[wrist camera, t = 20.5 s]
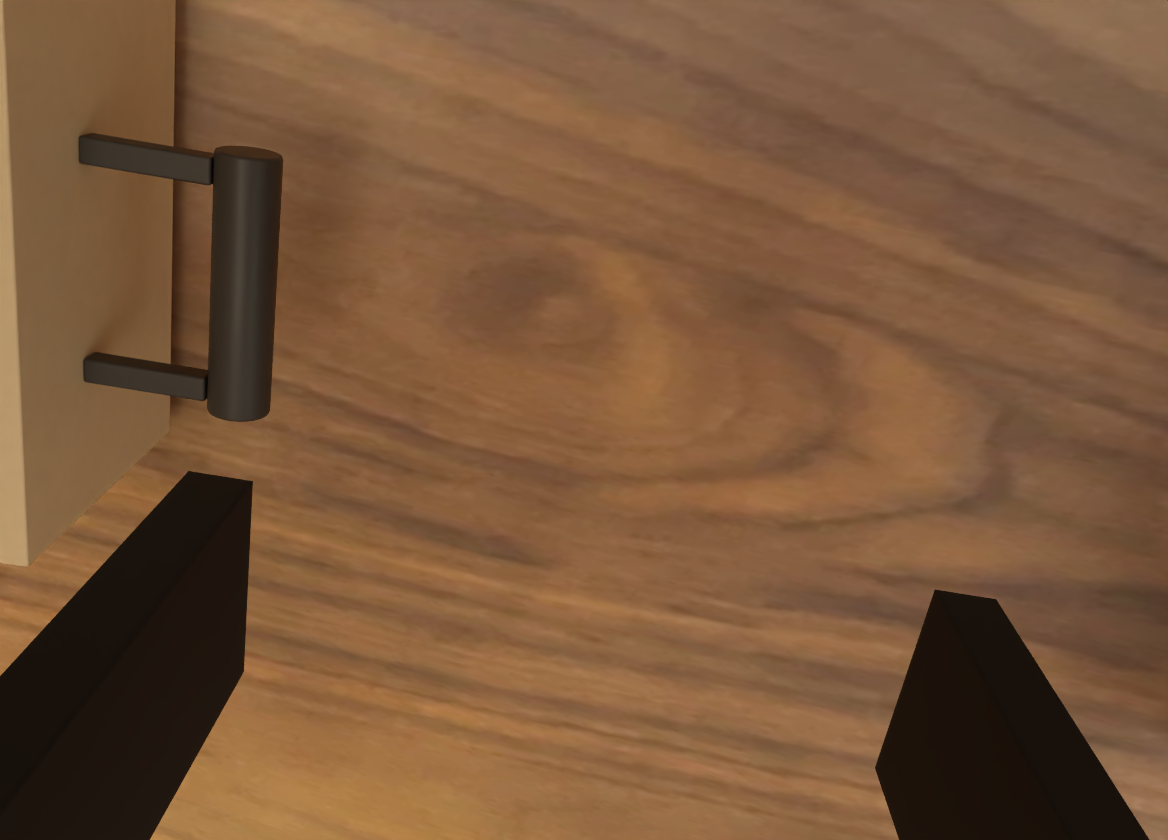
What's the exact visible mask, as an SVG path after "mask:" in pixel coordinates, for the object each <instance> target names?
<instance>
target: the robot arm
mask: <svg viewBox="0 0 1168 840" xmlns="http://www.w3.org/2000/svg"><path fill="white" fill-rule="evenodd" d="M252 486H253V481H247V480H241V479H235V478H228V477H222V476H216V475H210V474H203V473H197V472H191V471H188V472H187V473H186V475H185V476H184V477H183V478H182V479H181V480H180V481H179V482H178V483H177V484H176V485H175V487H174V488H173V489H172V490H171V491H170V492H169V493H168V494H167V495H166V496H165V497H164V499H163V500H162V501H161V502H160V503H159V504H158V505H157V506H156V507H155V508H154V509H153V511H152V512H151V513H150V514H149V515H148V516H147V517H146V518H145V519H144V520H143V521H142V522H141V524H140V525H139V526H138V527H137V528H136V529H135V530H134V531H133V532H132V533H131V534H130V536H129V537H128V538H127V539H126V540H125V541H124V542H123V543H122V544H121V545H120V546H119V548H118V549H117V550H116V551H115V552H114V553H113V554H112V555H111V556H110V557H109V558H108V559H107V561H106V562H105V563H104V564H103V565H102V566H101V567H100V568H99V569H98V570H97V571H96V573H95V574H94V575H93V576H92V577H91V578H90V579H89V580H88V581H87V582H86V583H85V585H84V586H83V587H82V588H81V589H80V590H79V591H78V592H77V593H76V594H75V595H74V596H73V598H72V599H71V600H70V601H69V602H68V603H67V604H66V605H65V606H64V607H63V608H62V610H61V611H60V612H59V613H58V614H57V615H56V616H55V617H54V618H53V619H52V620H51V622H50V623H49V624H48V625H47V626H46V627H45V628H44V629H43V630H42V631H41V632H40V634H39V635H38V636H37V637H36V638H35V639H34V640H33V641H32V642H31V643H30V644H29V645H28V647H27V648H26V649H25V650H24V651H23V652H22V653H21V654H20V655H19V656H18V657H17V659H16V660H15V661H14V662H13V663H12V664H11V665H10V666H9V667H8V668H7V669H6V671H5V672H4V673H3V674H2V675H1V676H0V840H150V838H151V836H152V835H153V833H154V831H155V829H156V827H157V826H158V824H159V822H160V820H161V819H162V817H163V815H164V813H165V811H166V810H167V808H168V806H169V804H170V802H171V801H172V799H173V797H174V795H175V794H176V792H177V790H178V788H179V786H180V785H181V783H182V781H183V779H184V777H185V776H186V774H187V772H188V770H189V769H190V767H191V765H192V763H193V761H194V760H195V758H196V756H197V754H198V752H199V751H200V749H201V747H202V745H203V744H204V742H205V740H206V738H207V736H208V735H209V733H210V731H211V729H212V727H213V726H214V724H215V722H216V720H217V718H218V717H219V715H220V713H221V711H222V710H223V708H224V706H225V704H226V702H227V701H228V699H229V697H230V695H231V693H232V692H233V690H234V688H235V686H236V685H237V683H238V681H239V679H240V677H241V676H242V674H243V672H244V656H245V634H246V613H247V592H248V571H249V549H250V528H251V507H252ZM875 769H876V772H877V775H878V778H879V781H880V784H881V787H882V790H883V793H884V796H885V799H886V802H887V805H888V808H889V811H890V814H891V817H892V820H893V823H894V826H895V829H896V832H897V834H898V837H899V840H1149V839H1148V837H1147V835H1146V834H1145V832H1144V831H1143V829H1142V828H1141V826H1140V824H1139V823H1138V821H1137V820H1136V818H1135V817H1134V815H1133V813H1132V812H1131V810H1130V809H1129V807H1128V806H1127V804H1126V802H1125V801H1124V799H1123V798H1122V796H1121V795H1120V793H1119V791H1118V790H1117V788H1116V787H1115V785H1114V784H1113V782H1112V780H1111V779H1110V777H1109V776H1108V774H1107V773H1106V771H1105V769H1104V768H1103V766H1102V765H1101V763H1100V762H1099V760H1098V759H1097V757H1096V755H1095V754H1094V752H1093V751H1092V749H1091V748H1090V746H1089V744H1088V743H1087V741H1086V740H1085V738H1084V737H1083V735H1082V733H1081V732H1080V730H1079V729H1078V727H1077V726H1076V724H1075V722H1074V721H1073V719H1072V718H1071V716H1070V715H1069V713H1068V711H1067V710H1066V708H1065V707H1064V705H1063V704H1062V702H1061V700H1060V699H1059V697H1058V696H1057V694H1056V693H1055V691H1054V690H1053V688H1052V686H1051V685H1050V683H1049V682H1048V680H1047V679H1046V677H1045V675H1044V674H1043V672H1042V671H1041V669H1040V668H1039V666H1038V664H1037V663H1036V661H1035V660H1034V658H1033V657H1032V655H1031V653H1030V652H1029V650H1028V649H1027V647H1026V646H1025V644H1024V642H1023V641H1022V639H1021V638H1020V636H1019V635H1018V633H1017V631H1016V630H1015V628H1014V627H1013V625H1012V624H1011V622H1010V621H1009V619H1008V617H1007V616H1006V614H1005V613H1004V611H1003V610H1002V608H1001V606H1000V605H999V603H998V602H997V600H996V599H991V598H984V597H978V596H972V595H965V594H959V593H953V592H946V591H940V590H935V591H934V594H933V597H932V600H931V603H930V606H929V609H928V612H927V615H926V618H925V621H924V624H923V627H922V630H921V633H920V636H919V639H918V642H917V645H916V648H915V651H914V653H913V656H912V659H911V662H910V665H909V668H908V671H907V674H906V677H905V680H904V683H903V686H902V689H901V692H900V695H899V698H898V701H897V704H896V707H895V710H894V713H893V716H892V719H891V722H890V725H889V728H888V731H887V734H886V737H885V740H884V743H883V746H882V749H881V752H880V755H879V758H878V761H877V764H876V767H875Z"/></svg>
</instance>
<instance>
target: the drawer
mask: <svg viewBox="0 0 1168 840" xmlns="http://www.w3.org/2000/svg"><path fill="white" fill-rule="evenodd" d="M175 5H176V0H0V563H3V564H9V565H16V566H22V567H28V566H29V565H30V564H31V563H32V562H33V561H34V560H36V559H37V558H38V557H39V556H40V555H41V554H42V553H43V552H44V551H45V550H46V549H47V548H48V547H49V546H50V545H51V544H52V543H53V542H54V541H55V540H56V539H58V538H59V537H60V536H61V535H62V534H63V533H64V532H65V531H66V530H67V529H68V528H69V527H70V526H71V525H72V524H73V523H74V522H75V521H76V520H77V519H78V518H79V517H81V516H82V515H83V514H84V513H85V512H86V511H87V510H88V509H89V508H90V507H91V506H92V505H93V504H94V503H95V502H96V501H97V500H98V499H99V498H100V497H101V496H103V495H104V494H105V493H106V492H107V491H108V490H109V489H110V488H111V487H112V486H113V485H114V484H115V483H116V482H117V481H118V480H119V479H120V478H121V477H122V476H123V475H125V474H126V473H127V472H128V471H129V470H130V469H131V468H132V467H133V466H134V465H135V464H136V463H137V462H138V461H139V460H140V459H141V458H142V457H143V456H144V455H145V454H146V453H148V452H149V451H150V450H151V449H152V448H153V447H154V446H155V445H156V444H157V443H158V442H159V441H160V440H161V439H162V438H163V437H164V436H165V435H166V434H167V433H168V432H169V431H170V396H174V397H180V398H187V399H193V400H199V401H204V400H206V399H207V409H208V411H209V413H210V414H211V415H213V416H215V417H217V418H220V419H223V420H228V421H237V422H245V421H254V420H258V419H261V418H263V417H265V416H267V415H268V413H269V411H270V401H271V382H272V363H273V344H274V325H275V306H276V287H277V268H278V249H279V230H280V211H281V192H282V173H283V157H282V156H281V155H280V154H278V153H276V152H273V151H269V150H265V149H260V148H254V147H245V146H222V147H218V148H216V149H215V151H214V153H209V152H203V151H197V150H191V149H185V148H179V147H174V79H175ZM173 179H174V180H180V181H186V182H191V183H197V184H203V185H211V184H213V213H212V248H211V284H210V320H209V355H208V370H204V369H198V368H192V367H186V366H180V365H174V364H171V299H172V225H173Z"/></svg>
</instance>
